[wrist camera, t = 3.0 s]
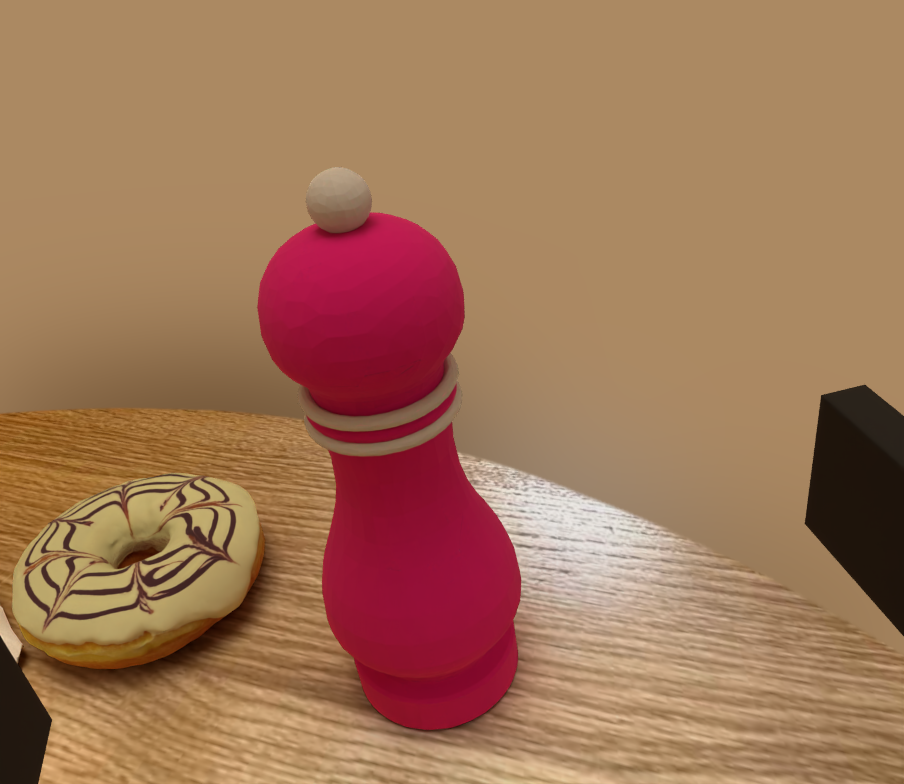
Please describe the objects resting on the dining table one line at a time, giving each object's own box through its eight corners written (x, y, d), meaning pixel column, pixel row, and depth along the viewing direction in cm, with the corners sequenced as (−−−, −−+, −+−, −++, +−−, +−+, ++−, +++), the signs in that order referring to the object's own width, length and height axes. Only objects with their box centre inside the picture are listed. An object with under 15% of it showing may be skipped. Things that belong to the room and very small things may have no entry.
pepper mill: (407, 782, 29) (257, 250, 18) (318, 652, 35) (162, 180, 24) (569, 672, 32) (522, 156, 21) (463, 568, 38) (383, 113, 27)
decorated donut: (294, 628, 36) (272, 565, 34) (31, 729, 33) (-10, 667, 31) (252, 490, 44) (232, 432, 42) (38, 562, 42) (6, 504, 40)
